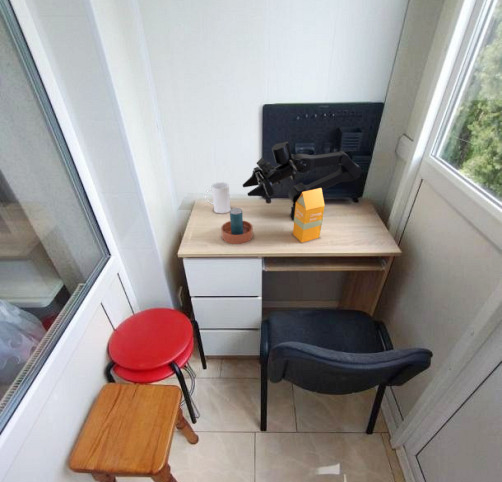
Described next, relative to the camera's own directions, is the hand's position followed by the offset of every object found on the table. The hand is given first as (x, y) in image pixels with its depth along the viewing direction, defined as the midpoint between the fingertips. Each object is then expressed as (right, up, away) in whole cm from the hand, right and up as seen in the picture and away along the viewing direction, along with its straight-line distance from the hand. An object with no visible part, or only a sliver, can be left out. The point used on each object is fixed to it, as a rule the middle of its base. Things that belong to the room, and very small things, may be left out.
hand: (245, 190), depth 119 cm
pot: (-3, -19, +3) cm, 19 cm away
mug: (-14, -1, +22) cm, 26 cm away
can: (-3, -18, +3) cm, 19 cm away
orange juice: (+26, -19, +3) cm, 32 cm away
